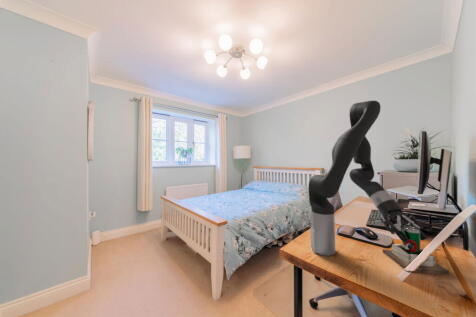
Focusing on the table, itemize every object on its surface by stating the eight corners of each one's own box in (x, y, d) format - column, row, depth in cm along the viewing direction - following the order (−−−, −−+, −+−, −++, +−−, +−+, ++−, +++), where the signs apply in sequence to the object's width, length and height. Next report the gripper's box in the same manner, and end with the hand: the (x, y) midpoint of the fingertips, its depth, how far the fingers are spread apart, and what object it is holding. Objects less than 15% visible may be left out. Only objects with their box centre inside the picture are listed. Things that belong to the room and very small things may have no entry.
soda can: (424, 263, 66) (424, 231, 66) (408, 261, 67) (408, 230, 67) (414, 255, 71) (413, 225, 71) (399, 254, 72) (398, 225, 72)
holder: (406, 271, 63) (406, 258, 63) (382, 252, 76) (382, 241, 76) (449, 274, 61) (449, 260, 61) (417, 254, 74) (417, 242, 74)
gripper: (377, 199, 74) (408, 238, 63) (404, 197, 77) (439, 234, 66) (366, 208, 80) (393, 246, 68) (391, 206, 82) (422, 242, 71)
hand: (415, 240), depth 67 cm, fingers open, 8 cm apart
